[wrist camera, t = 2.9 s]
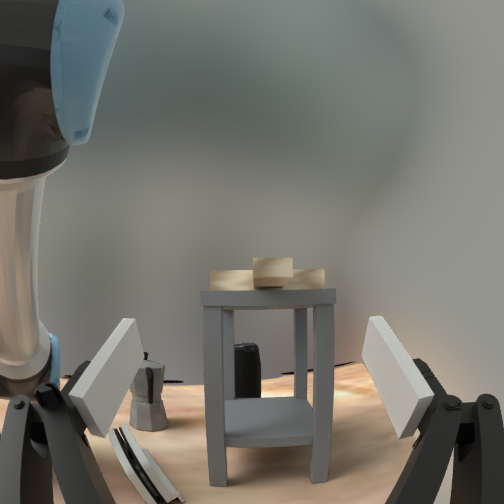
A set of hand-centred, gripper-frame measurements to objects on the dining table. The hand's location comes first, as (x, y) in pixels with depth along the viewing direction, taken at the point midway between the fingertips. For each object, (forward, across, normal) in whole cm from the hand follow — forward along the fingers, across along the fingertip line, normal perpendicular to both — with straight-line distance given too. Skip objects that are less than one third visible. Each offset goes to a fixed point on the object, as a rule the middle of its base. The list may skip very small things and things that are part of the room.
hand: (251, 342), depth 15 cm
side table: (+17, +2, -39) cm, 43 cm away
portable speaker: (+37, -4, -51) cm, 64 cm away
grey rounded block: (+6, -17, -33) cm, 38 cm away
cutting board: (+27, +2, -10) cm, 29 cm away
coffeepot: (+26, -25, -44) cm, 57 cm away
